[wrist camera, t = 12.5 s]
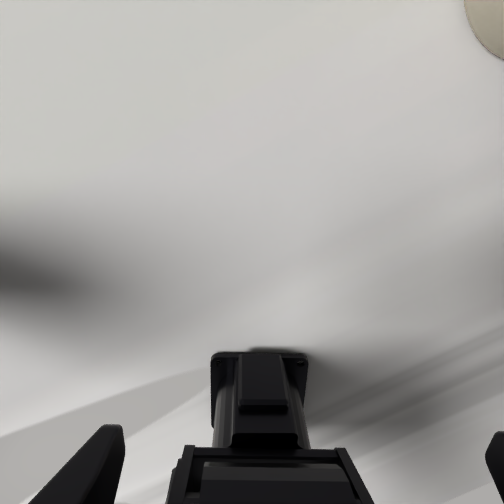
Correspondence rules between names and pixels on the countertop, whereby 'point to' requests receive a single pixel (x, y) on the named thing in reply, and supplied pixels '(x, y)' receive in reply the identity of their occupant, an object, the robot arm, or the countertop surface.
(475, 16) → the travel mug
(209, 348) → the countertop surface
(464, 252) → the countertop surface
